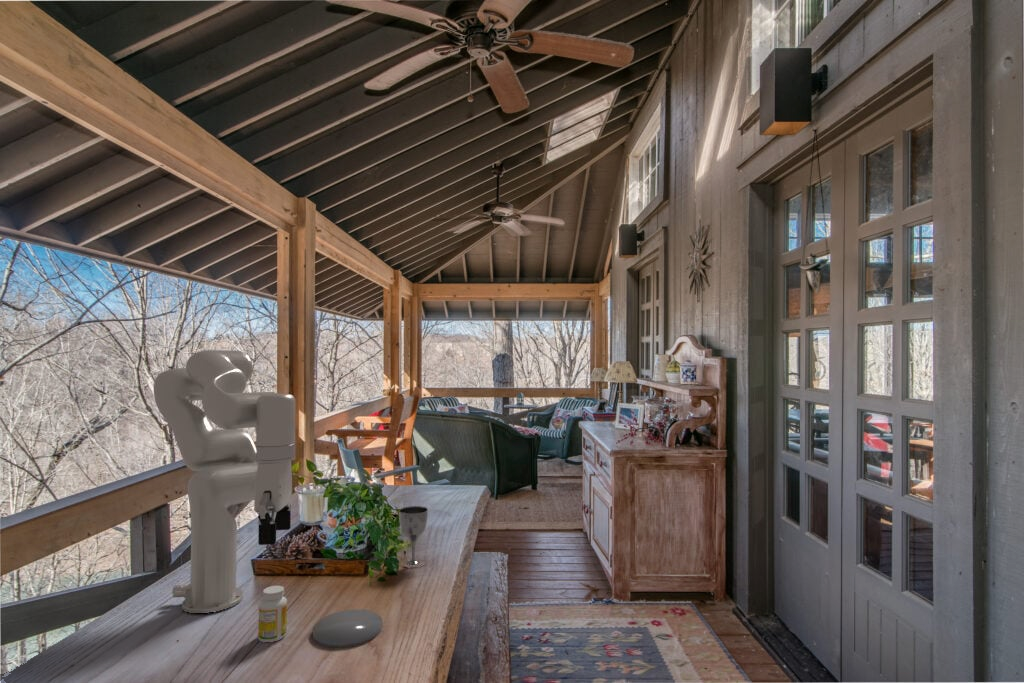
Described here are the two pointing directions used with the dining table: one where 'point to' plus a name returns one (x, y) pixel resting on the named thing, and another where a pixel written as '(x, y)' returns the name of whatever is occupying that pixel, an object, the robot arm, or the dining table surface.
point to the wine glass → (413, 526)
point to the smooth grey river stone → (347, 628)
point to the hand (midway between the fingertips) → (275, 536)
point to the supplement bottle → (272, 615)
